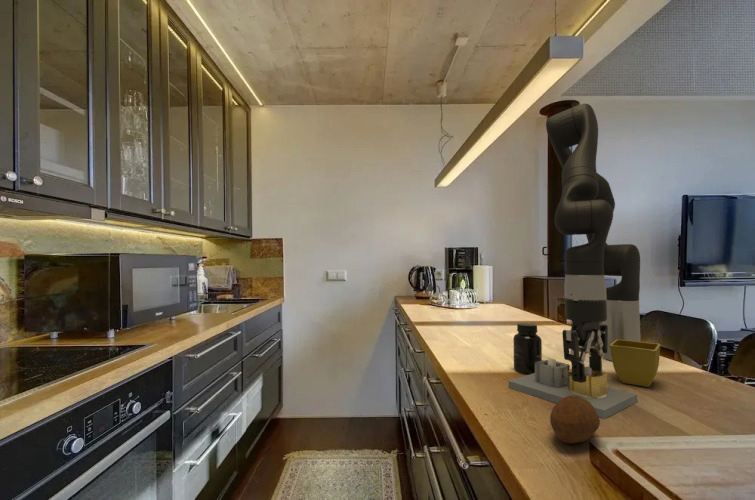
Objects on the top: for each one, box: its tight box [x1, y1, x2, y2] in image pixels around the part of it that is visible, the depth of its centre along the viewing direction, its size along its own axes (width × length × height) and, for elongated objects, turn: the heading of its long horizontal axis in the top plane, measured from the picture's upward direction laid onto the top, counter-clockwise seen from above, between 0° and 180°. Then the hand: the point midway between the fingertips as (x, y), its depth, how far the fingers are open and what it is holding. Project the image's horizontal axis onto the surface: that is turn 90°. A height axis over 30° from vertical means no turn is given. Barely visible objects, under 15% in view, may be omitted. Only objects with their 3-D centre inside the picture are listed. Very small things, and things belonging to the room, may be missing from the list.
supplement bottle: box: [512, 322, 543, 375], centre depth 94 cm, size 7×7×12 cm
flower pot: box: [610, 339, 661, 388], centre depth 84 cm, size 9×9×9 cm
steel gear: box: [535, 359, 571, 388], centre depth 80 cm, size 6×6×4 cm
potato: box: [549, 396, 601, 445], centre depth 57 cm, size 7×12×7 cm, turn 145°
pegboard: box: [507, 358, 638, 420], centre depth 77 cm, size 14×20×6 cm
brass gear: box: [568, 368, 608, 398], centre depth 74 cm, size 6×6×4 cm
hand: (587, 378), depth 74 cm, fingers open, 6 cm apart
